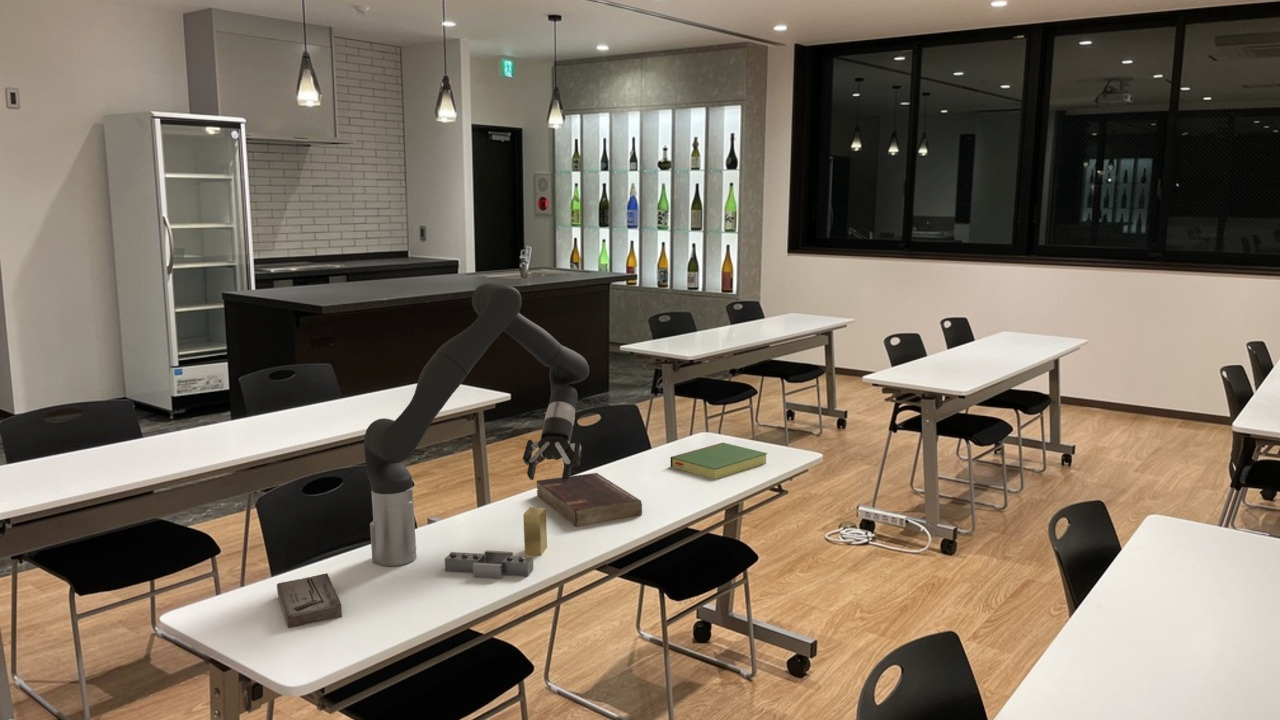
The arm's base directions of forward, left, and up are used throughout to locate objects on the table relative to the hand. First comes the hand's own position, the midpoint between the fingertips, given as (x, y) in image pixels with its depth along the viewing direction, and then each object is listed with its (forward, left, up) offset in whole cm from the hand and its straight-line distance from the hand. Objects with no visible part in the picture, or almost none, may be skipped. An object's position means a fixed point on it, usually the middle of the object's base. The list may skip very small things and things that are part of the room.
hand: (547, 479), depth 232 cm
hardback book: (+4, +24, -15) cm, 28 cm away
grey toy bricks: (-6, -24, -14) cm, 29 cm away
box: (-37, -49, -15) cm, 63 cm away
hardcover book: (+35, +68, -15) cm, 78 cm away
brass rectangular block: (0, -11, -14) cm, 18 cm away
